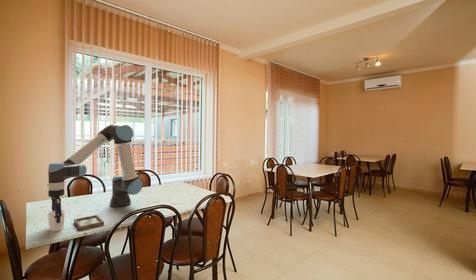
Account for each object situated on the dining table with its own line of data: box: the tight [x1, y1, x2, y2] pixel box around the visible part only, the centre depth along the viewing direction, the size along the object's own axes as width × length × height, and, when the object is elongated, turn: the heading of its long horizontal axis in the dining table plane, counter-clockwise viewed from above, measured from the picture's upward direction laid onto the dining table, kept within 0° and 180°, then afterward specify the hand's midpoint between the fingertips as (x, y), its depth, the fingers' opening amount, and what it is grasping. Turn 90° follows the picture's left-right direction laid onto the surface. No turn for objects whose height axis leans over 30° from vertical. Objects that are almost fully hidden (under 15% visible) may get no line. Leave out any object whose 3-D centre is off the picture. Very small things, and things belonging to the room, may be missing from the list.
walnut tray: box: [73, 214, 105, 231], centre depth 151 cm, size 13×16×2 cm
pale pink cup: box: [47, 209, 66, 232], centre depth 142 cm, size 8×8×10 cm
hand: (56, 224), depth 142 cm, fingers open, 13 cm apart
